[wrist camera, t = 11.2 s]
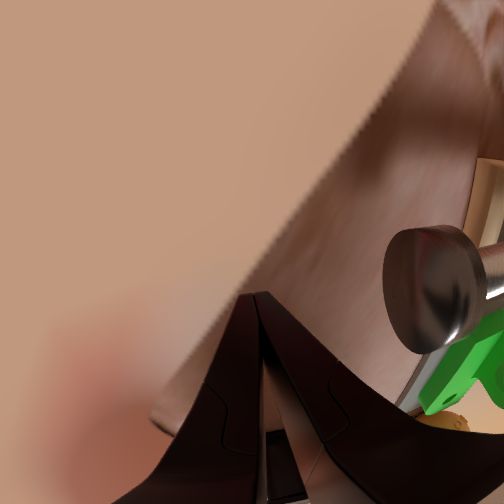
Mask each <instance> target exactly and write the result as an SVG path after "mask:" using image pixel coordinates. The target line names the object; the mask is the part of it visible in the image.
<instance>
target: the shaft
mask: <svg viewBox="0 0 504 504" xmlns="http://www.w3.org/2000/svg"><path fill="white" fill-rule="evenodd" d="M382 279H383V293H384V300H385V305H386V309H387V313H388V316H389V319H390V322H391V325H392V327H393V329H394V331H395V333H396V335H397V336H398V338H399V339H400V341H401V342H402V343H403V345H404V346H405V347H406V348H408V349H409V350H410V351H412V352H414V353H416V354H429V353H431V352H434V351H436V350H439V349H441V348H444V347H446V346H449V345H451V344H454V343H456V342H458V341H461V340H463V339H465V338H467V337H468V336H470V335H471V334H472V333H473V332H474V331H475V330H476V328H477V327H478V325H479V323H480V321H481V319H482V317H483V314H484V311H485V307H486V301H487V299H490V298H492V297H495V296H497V295H499V294H502V293H504V242H501V243H496V244H492V245H487V246H483V247H478V248H476V247H475V245H474V244H473V242H472V241H471V240H470V238H469V237H468V236H467V235H466V234H465V233H464V232H462V231H461V230H459V229H458V228H456V227H454V226H450V225H438V226H430V227H422V228H414V229H407V230H402V231H400V232H398V233H397V234H396V235H395V236H394V237H393V238H392V240H391V241H390V243H389V245H388V247H387V250H386V253H385V258H384V263H383V278H382Z"/></svg>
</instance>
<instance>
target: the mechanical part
mask: <svg viewBox="0 0 504 504" xmlns="http://www.w3.org/2000/svg"><path fill="white" fill-rule="evenodd" d="M477 379H479V380H480V381H481V383H482V384H483V386H484V388H485V389H486V391H487V392H488V394H489V396H490V398H491V399H492V401H493V402H494V403H495V404H496V405H497V406H498V407H500V408H502V409H504V309H502V310H499V311H497V312H494V313H492V314H490V315H487V316H485V317H482V319H481V321H480V323H479V325H478V327H477V328H476V330H475V331H474V332H473V333H472V334H471V335H470V336H468V337H467V338H465V339H463V340H461V341H458V342H456V343H454V344H451V346H450V347H449V349H448V351H447V352H446V354H445V356H444V357H443V359H442V360H441V362H440V364H439V365H438V367H437V368H436V370H435V371H434V373H433V374H432V376H431V377H430V379H429V380H428V382H427V383H426V384H425V386H424V387H423V389H422V390H421V391H420V393H419V395H418V400H419V402H420V404H421V406H422V408H423V410H424V412H425V414H426V415H432V414H435V413H437V412H439V411H442V410H444V409H446V408H448V407H450V406H451V405H453V404H456V403H457V402H459V400H460V399H461V398H462V397H463V396H464V395H465V394H466V393H467V391H468V390H469V389H470V388H471V387H472V385H473V384H474V383H475V382H476V380H477Z"/></svg>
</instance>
